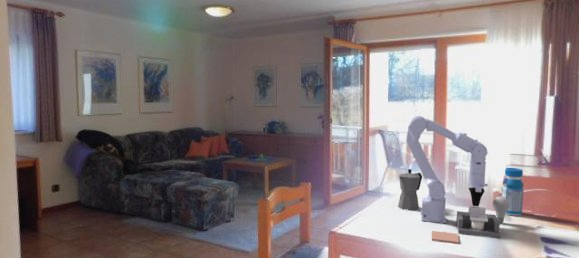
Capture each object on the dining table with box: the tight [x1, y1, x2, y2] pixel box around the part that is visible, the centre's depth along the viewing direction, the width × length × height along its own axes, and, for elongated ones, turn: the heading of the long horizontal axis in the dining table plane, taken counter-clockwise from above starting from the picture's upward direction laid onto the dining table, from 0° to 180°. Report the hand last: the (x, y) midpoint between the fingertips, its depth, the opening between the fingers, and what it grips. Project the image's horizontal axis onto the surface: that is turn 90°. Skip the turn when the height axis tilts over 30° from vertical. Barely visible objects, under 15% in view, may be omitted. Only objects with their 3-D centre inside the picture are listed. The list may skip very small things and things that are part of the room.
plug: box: [470, 220, 485, 231], centre depth 156 cm, size 4×4×5 cm
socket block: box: [455, 210, 501, 239], centre depth 157 cm, size 14×13×5 cm
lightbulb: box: [492, 195, 510, 224], centre depth 166 cm, size 6×6×11 cm
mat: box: [431, 230, 460, 245], centre depth 148 cm, size 9×9×1 cm
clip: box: [468, 206, 488, 222], centre depth 156 cm, size 6×8×3 cm
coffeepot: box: [397, 168, 423, 211], centre depth 188 cm, size 15×9×18 cm, turn 125°
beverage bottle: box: [501, 167, 525, 217], centre depth 180 cm, size 8×8×20 cm
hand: (475, 205), depth 165 cm, fingers closed
